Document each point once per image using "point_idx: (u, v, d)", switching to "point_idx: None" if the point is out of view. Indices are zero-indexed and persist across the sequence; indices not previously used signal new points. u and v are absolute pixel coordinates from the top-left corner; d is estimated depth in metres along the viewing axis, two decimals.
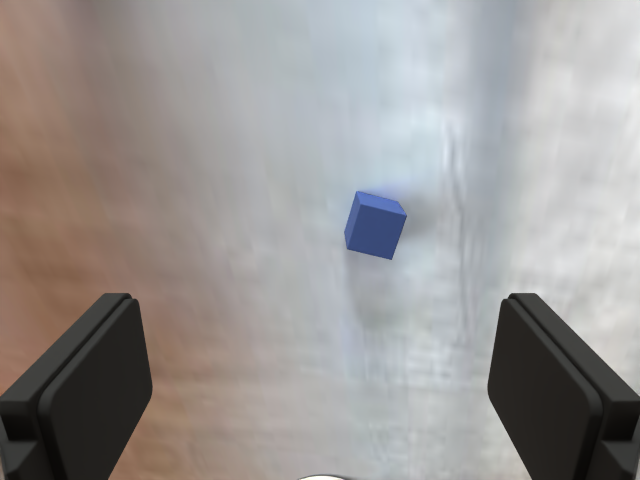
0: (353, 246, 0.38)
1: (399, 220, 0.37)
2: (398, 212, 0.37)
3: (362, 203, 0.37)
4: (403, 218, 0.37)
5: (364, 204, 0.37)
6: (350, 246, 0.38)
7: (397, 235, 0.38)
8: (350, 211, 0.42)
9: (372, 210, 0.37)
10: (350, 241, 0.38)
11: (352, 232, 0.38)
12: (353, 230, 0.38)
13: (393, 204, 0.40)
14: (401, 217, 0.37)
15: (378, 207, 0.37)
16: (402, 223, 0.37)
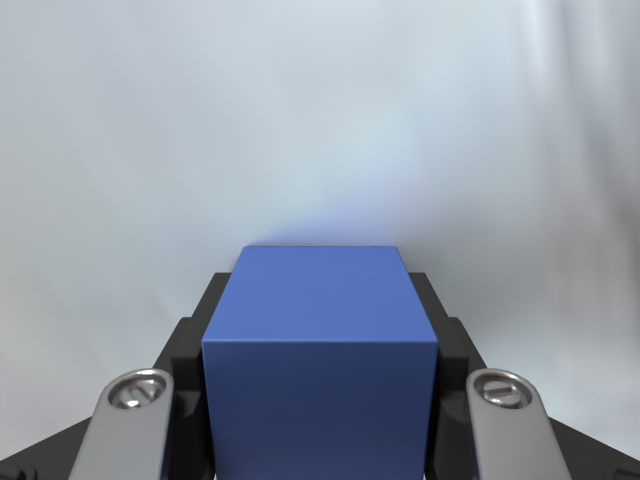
0: None
1: (409, 369, 0.08)
2: (395, 332, 0.08)
3: (214, 332, 0.08)
4: (425, 357, 0.08)
5: (223, 337, 0.08)
6: None
7: (417, 429, 0.08)
8: None
9: (265, 356, 0.08)
10: None
11: (217, 455, 0.09)
12: (217, 448, 0.08)
13: (376, 272, 0.10)
14: (414, 355, 0.08)
15: (294, 332, 0.08)
16: (427, 376, 0.08)
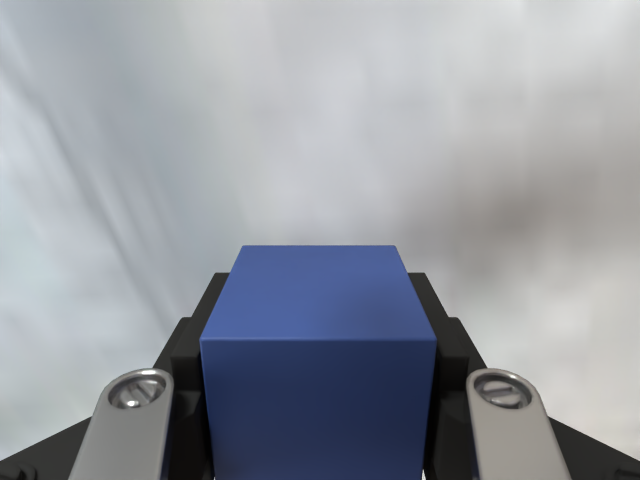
0: None
1: (407, 367, 0.08)
2: (394, 330, 0.08)
3: (212, 331, 0.08)
4: (424, 355, 0.08)
5: (221, 335, 0.08)
6: None
7: (416, 428, 0.08)
8: None
9: (264, 354, 0.08)
10: None
11: (215, 453, 0.09)
12: (215, 447, 0.08)
13: (375, 270, 0.10)
14: (413, 353, 0.08)
15: (293, 330, 0.08)
16: (426, 375, 0.08)
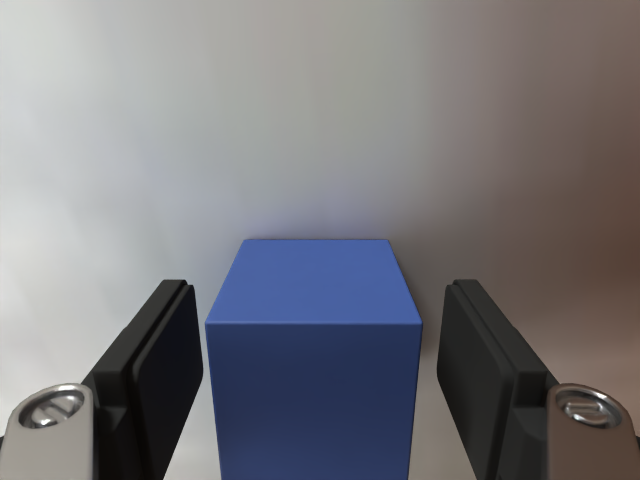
0: (242, 476, 0.10)
1: (396, 349, 0.08)
2: (383, 315, 0.08)
3: (216, 316, 0.08)
4: (411, 338, 0.08)
5: (224, 319, 0.08)
6: (231, 478, 0.10)
7: (405, 406, 0.09)
8: None
9: (264, 337, 0.08)
10: (224, 462, 0.09)
11: (219, 430, 0.09)
12: (219, 424, 0.09)
13: (368, 262, 0.11)
14: (401, 336, 0.08)
15: (290, 315, 0.08)
16: (412, 355, 0.08)
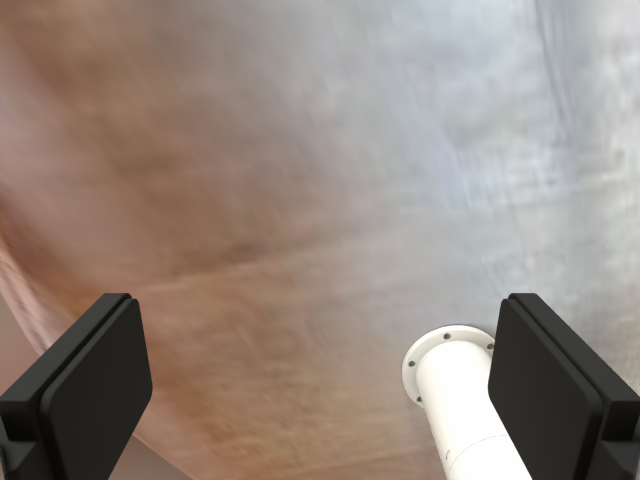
0: None
1: None
2: None
3: None
4: None
5: None
6: None
7: None
8: None
9: None
10: None
11: None
12: None
13: None
14: None
15: None
16: None
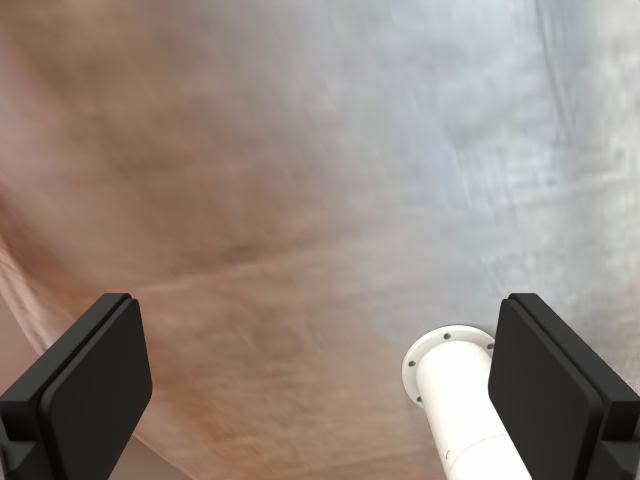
0: None
1: None
2: None
3: None
4: None
5: None
6: None
7: None
8: None
9: None
10: None
11: None
12: None
13: None
14: None
15: None
16: None
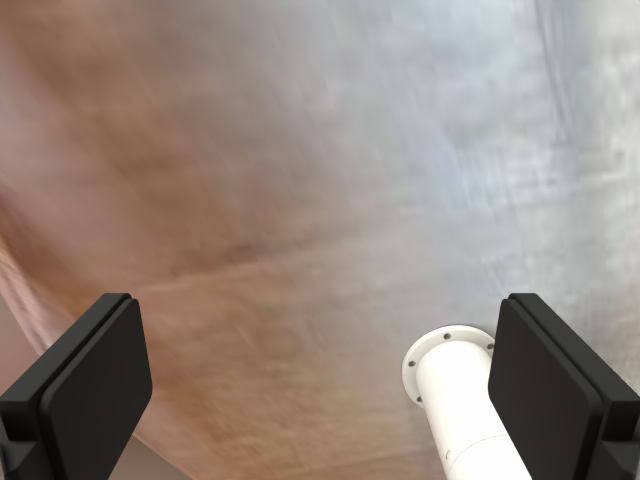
0: None
1: None
2: None
3: None
4: None
5: None
6: None
7: None
8: None
9: None
10: None
11: None
12: None
13: None
14: None
15: None
16: None
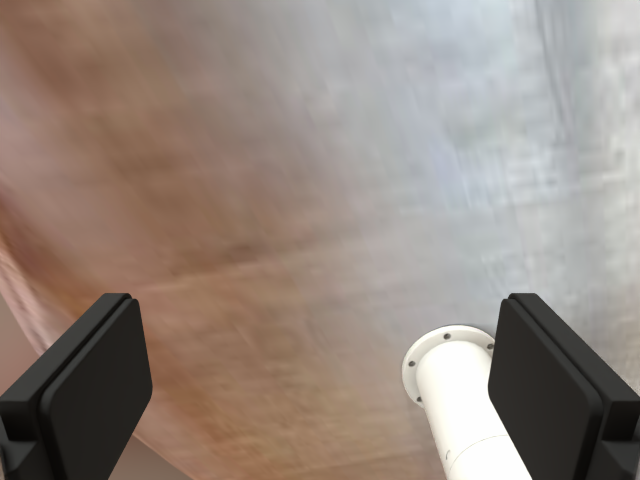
0: None
1: None
2: None
3: None
4: None
5: None
6: None
7: None
8: None
9: None
10: None
11: None
12: None
13: None
14: None
15: None
16: None
